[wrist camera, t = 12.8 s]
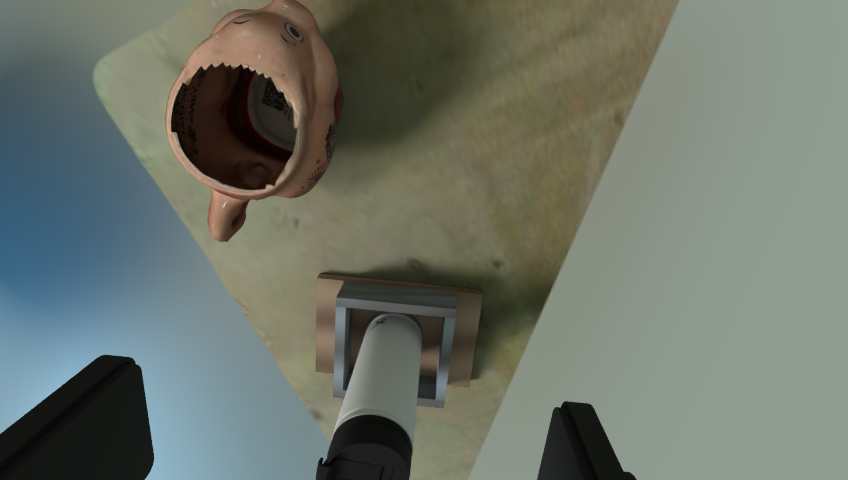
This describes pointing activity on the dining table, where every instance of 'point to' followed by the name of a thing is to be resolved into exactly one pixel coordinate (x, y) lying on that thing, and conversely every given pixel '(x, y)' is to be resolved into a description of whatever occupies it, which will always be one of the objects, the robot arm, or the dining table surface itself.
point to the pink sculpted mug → (256, 110)
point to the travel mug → (378, 405)
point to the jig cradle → (430, 304)
